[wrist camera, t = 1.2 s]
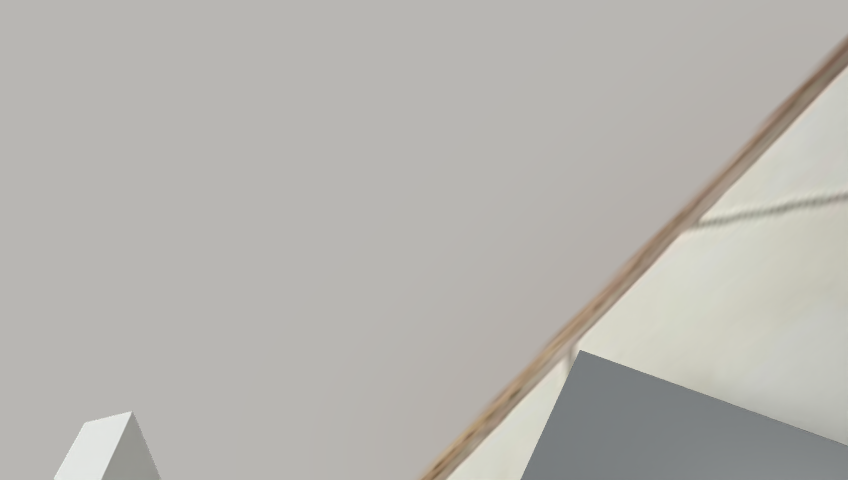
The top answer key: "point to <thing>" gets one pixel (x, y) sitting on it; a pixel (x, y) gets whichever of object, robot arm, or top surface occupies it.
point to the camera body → (668, 434)
